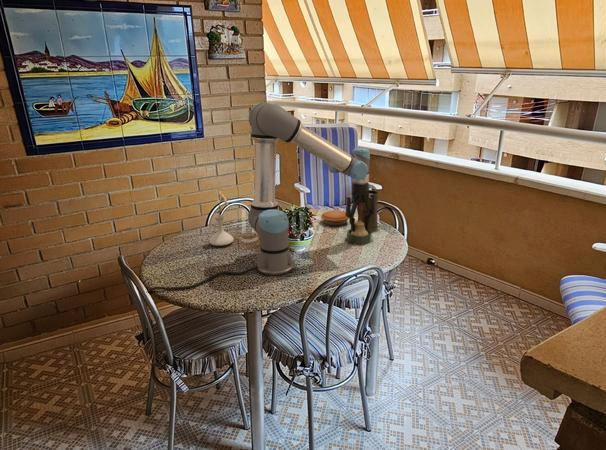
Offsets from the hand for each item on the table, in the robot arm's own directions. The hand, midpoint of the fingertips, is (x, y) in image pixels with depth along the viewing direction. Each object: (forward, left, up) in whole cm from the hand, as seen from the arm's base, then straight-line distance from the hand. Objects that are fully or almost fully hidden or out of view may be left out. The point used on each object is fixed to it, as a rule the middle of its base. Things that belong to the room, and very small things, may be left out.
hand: (359, 229), depth 194 cm
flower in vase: (-63, +18, -5) cm, 66 cm away
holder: (0, 0, -5) cm, 5 cm away
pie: (-2, +28, -3) cm, 28 cm away
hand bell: (0, 0, -2) cm, 2 cm away
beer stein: (+11, +15, -5) cm, 19 cm away
